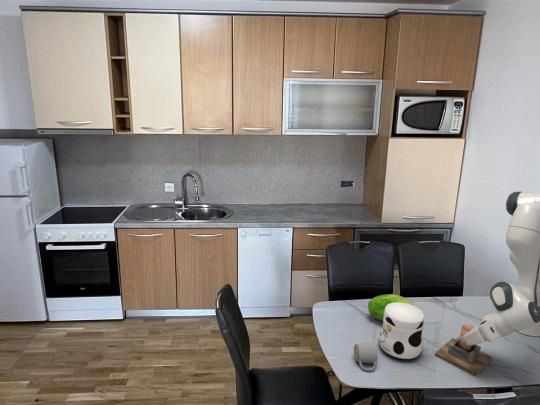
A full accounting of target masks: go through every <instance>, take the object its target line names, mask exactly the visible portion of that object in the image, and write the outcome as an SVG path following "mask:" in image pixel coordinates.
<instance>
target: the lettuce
mask: <svg viewBox="0 0 540 405" xmlns="http://www.w3.org/2000/svg"><path fill="white" fill-rule="evenodd" d="M394 302H402V303H407V304H410V305H413V303H412V302H411V300H409V299H407V298H406V297H404V296H402V295H401V296H400V295H398V294H395V293H393V294H392V293H391V294H382V295H381V294H380V295H378V296H374V297H373V298H372V299H370V300H369V301H368V303H367V304H368V305H367V310H368V312H369V315H370V316H371V317H373V318H375V319H377V320H379V321H382V322H383V317H384V311H385V307H386V306H387V305H388V304H390V303H394Z"/></svg>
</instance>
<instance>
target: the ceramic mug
mask: <svg viewBox="0 0 540 405" xmlns="http://www.w3.org/2000/svg"><path fill="white" fill-rule="evenodd" d="M378 354H379V353H378V348H377V345H376V343H375V342H358V343H355V344H354V346H353V355H354V360H355V362H357V363H359V366H360V368H361V369H362V370H363V371H365V372H372V371H373V370H374V369H375V367H376V364H377V363H378V361H379V360H378V358H379V356H378ZM365 363H366V364H373V366H371V368H366V367H364V365H363V364H365Z"/></svg>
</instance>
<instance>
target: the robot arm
mask: <svg viewBox="0 0 540 405" xmlns="http://www.w3.org/2000/svg"><path fill="white" fill-rule="evenodd" d="M505 209H506V213H508V215H510V216H511V218H510V221H509V224H508V226H507V231H506V236H505V243H506V245H507V248H508V249H509V250H510V251H509V256H508V257H509V260H510V262H511V263H512V264H513V266H514V267H515V268H516V270H517V273H518V281H517V286H516V285H514V284H512V283H510V282H505V281H498V282H496V283H495V284H493V285H492V287H491V289H490V291H489V298H490V300H491V302H492V304H493V307H494V308H495V310H496V311H494V312H491V313H488V314H485V315H484V316H483V319H482V320H480V321H479V322H478V323H477V324H476V325H475V326H473V327H474V328H472V329H471V330H470V331H469V332H468V333H467V334H465V335H462V336H461V337H460V336H459V337H460V338H461V340H462V341H465V342H466V344H467V345H475V344H476V345H479V344H483V343H486V342H487V343H491V342H493V341H496V340H497V339H500V338H503V337H505V336H509V335H511V334H513V333H514V332H518V333H520V334H523V335H527V336H530V337H540V192H532V191H531V192H529V191H528V192H523V191H513V192H512V193H510V194H509V195H508V197H507V199H506V201H505Z"/></svg>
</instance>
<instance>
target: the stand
mask: <svg viewBox="0 0 540 405" xmlns="http://www.w3.org/2000/svg"><path fill="white" fill-rule="evenodd" d="M459 341H460V336H457V338H456V339H455V338H454V337H452V338H451V339H449V341H447V342H446V343H445V344H443V346H441V347H440V348H438V350H437V351H435V353H434V356H435V357H436V358H439V359H441V360H442V361H444V362H447V363H448V364H450V365H452V366H454V367H456V368H458V369H459V370H462V371H463V372H466V373H468V374H469V375H471V376H473V377H476V376H477V375H478V374H479V373H480V372H481V371H482V369H484V368H485V367H486V365H488V364H489V363H490V361H491V360H492V355H490V354H488V353H487V352H484V351H482V350H481V348H482V346H480V345H479V344H475V345H472V346H471V351H470V352H467V351H465V350H463V349H461V348H458V346H459Z"/></svg>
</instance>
